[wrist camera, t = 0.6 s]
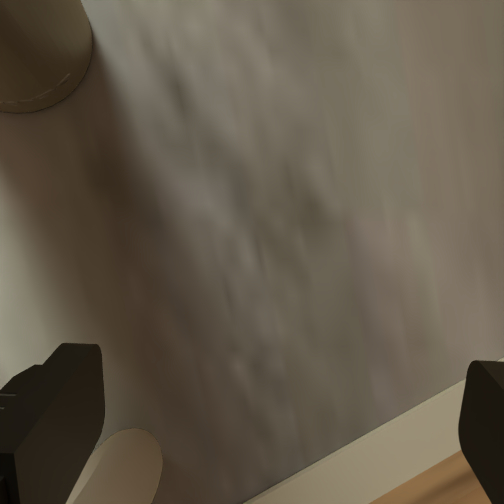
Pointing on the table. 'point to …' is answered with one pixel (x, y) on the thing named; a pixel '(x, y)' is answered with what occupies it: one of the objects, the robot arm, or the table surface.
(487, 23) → the table surface
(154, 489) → the donut
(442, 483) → the walnut base
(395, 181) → the table surface
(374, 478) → the build mat
